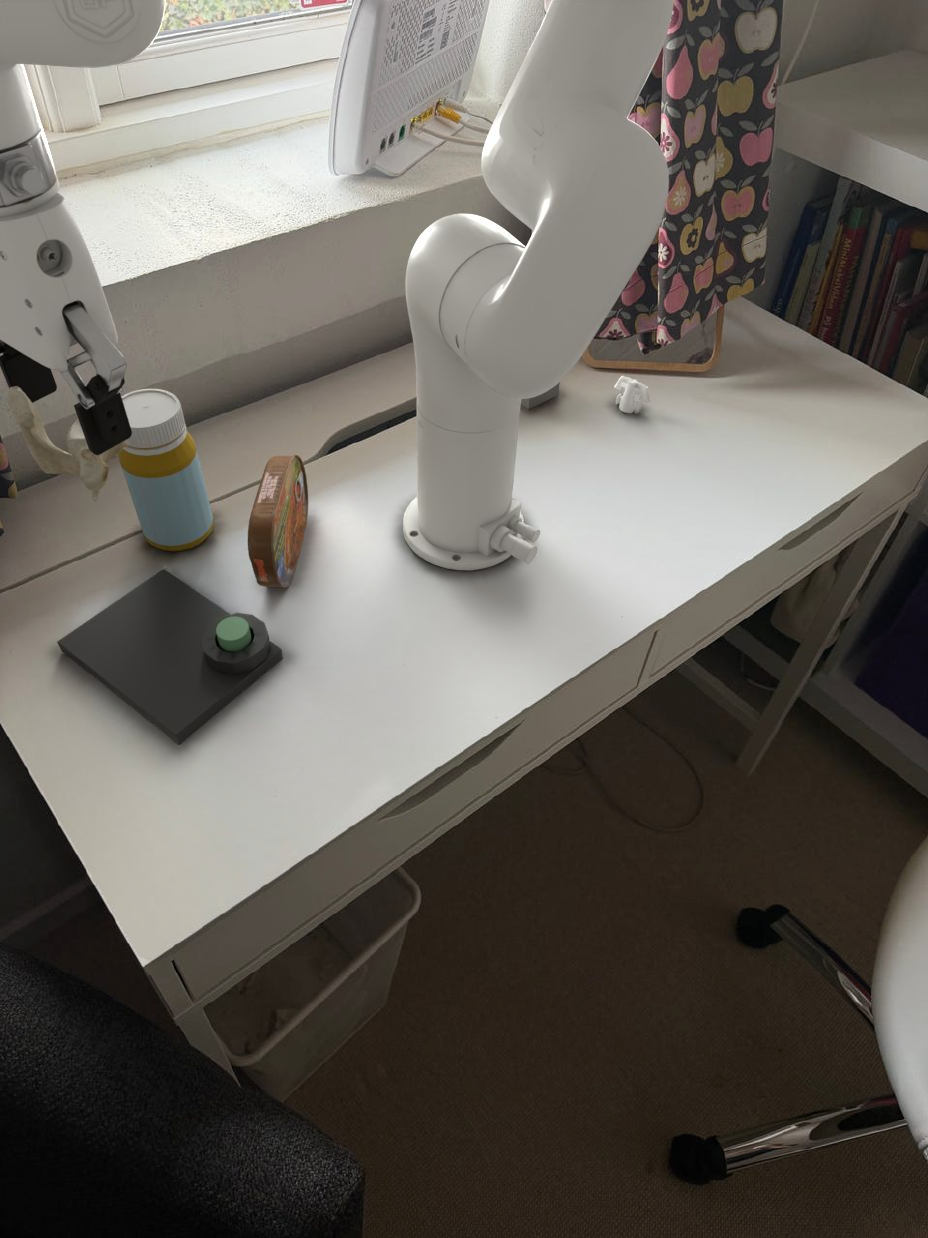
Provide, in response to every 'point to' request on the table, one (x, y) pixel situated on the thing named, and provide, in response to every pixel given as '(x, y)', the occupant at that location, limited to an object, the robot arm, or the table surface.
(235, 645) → the button
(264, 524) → the tin
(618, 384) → the clip
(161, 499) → the bottle
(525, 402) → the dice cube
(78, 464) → the bone
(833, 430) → the table surface
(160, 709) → the scale
